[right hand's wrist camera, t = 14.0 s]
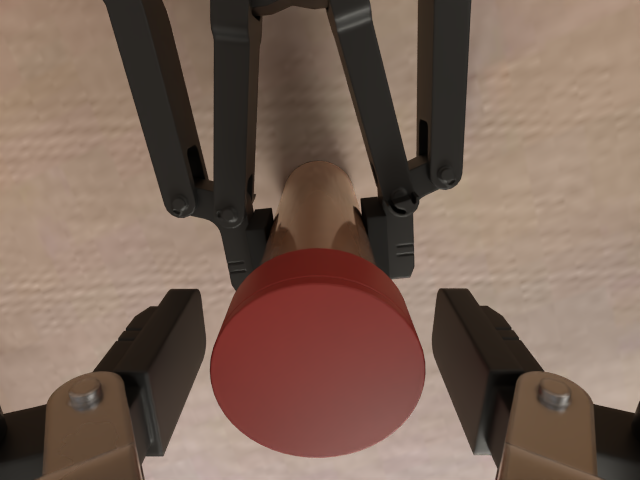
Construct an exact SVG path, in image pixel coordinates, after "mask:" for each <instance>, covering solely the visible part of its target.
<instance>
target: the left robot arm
mask: <svg viewBox="0 0 640 480" xmlns="http://www.w3.org/2000/svg"><path fill="white" fill-rule="evenodd" d="M103 1H104V3H105V4H106V7H107V10H108V14H109V17H110V21H111V24H112V27H113V31H114V34H115V38H116V41H117V44H118V48H119V51H120V55H121V58H122V62H123V65H124V68H125V72H126V75H127V79H128V82H129V85H130V89H131V92H132V96H133V99H134V102H135V106H136V109H137V113H138V116H139V120H140V123H141V126H142V130H143V133H144V137H145V140H146V143H147V147H148V150H149V154H150V157H151V161H152V164H153V167H154V171H155V174H156V178H157V181H158V184H159V188H160V191H161V195H162V198H163V202H164V205H165V207H166V209H167V211H168V212H169V213H170V214H171V215H173V216H175V217H178V218H185V217H188V216H195V217H199V218H203V219H207V220H210V221H211V222H213V223H214V224H215V225H216V226H217V227H218V228H219V230H220V233H221V236H222V241H223V245H224V250H225V255H226V260H227V263H228V269H229V272H230V279H231V283H232V286H233V287H234V289H235V290H236V291H237V289H238V288H239V286H240V285H241V283H242V282H243V281H244V280H245V279H246V277H247V276H248V275H250V274H251V273H252V272H253V271H254V270H255V269H256V268H258V267H259V266H260V263H261V260H262V256H263V253H264V250H265V247H266V244H267V241H268V237H269V234H270V231H271V228H272V225H273V222H274V220H273V213H272V208H266V209H257V210H255V211H253V206H252V203H253V201H254V199H255V196H256V194H254V173H255V147H256V122H257V97H258V72H259V49H260V43H261V37H262V16H263V15H271V14H274V13H276V12H279V11H281V10H283V9H285V8H288V7H290V6H299V7H304V8H310V9H319V8H326V12H327V15H328V19H329V22H330V26H331V29H332V32H333V35H334V38H335V41H336V45H337V48H338V52H339V55H340V59H341V62H342V66H343V69H344V73H345V76H346V80H347V84H348V87H349V91H350V94H351V98H352V101H353V105H354V108H355V112H356V115H357V119H358V123H359V126H360V130H361V133H362V137H363V140H364V144H365V147H366V151H367V154H368V158H369V162H370V165H371V169H372V172H373V176H374V179H375V183H376V186H377V189H378V197H370V198H361V211H362V218H363V222H364V225H365V228H366V231H367V235H368V238H369V241H370V245H371V248H372V251H373V254H374V258H375V261H376V264H377V267H378V268H379V269H381V270H382V271H383V272H384V273H385V274H386V275H387V276H388V277H389V278H390V279H399V278H409V277H410V276H411V274H412V271H413V269H414V234H413V213H414V212H415V210H416V209H417V207H418V205H419V200H420V199H421V198H422V197H424V196H425V195H427V194H430V193H432V192H434V191H436V190H438V189H443V190H447V189H451V188H453V187H454V186H456V185H457V184H458V182H459V181H460V180H461V176H462V169H463V150H464V130H465V111H466V91H467V72H468V52H469V33H470V13H471V0H418V53H417V152H416V158H413V159H411V160H409V161H407V159H406V155H405V151H404V147H403V143H402V139H401V135H400V130H399V126H398V122H397V118H396V114H395V110H394V106H393V102H392V98H391V94H390V90H389V86H388V82H387V78H386V74H385V70H384V66H383V62H382V58H381V54H380V50H379V46H378V42H377V38H376V34H375V30H374V26H373V22H372V14H371V6H370V1H369V0H210V21H211V30H212V33H213V38H214V181H210V180H209V179H208V175H207V171H206V167H205V163H204V158H203V154H202V150H201V146H200V142H199V138H198V134H197V130H196V126H195V122H194V118H193V114H192V110H191V106H190V102H189V98H188V94H187V89H186V85H185V81H184V77H183V73H182V69H181V65H180V61H179V57H178V53H177V49H176V45H175V41H174V37H173V33H172V29H171V25H170V21H169V18H168V14H167V11H166V9H165V6H164V4H163V1H162V0H103Z"/></svg>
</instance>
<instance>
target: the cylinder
mask: <svg viewBox="0 0 640 480" xmlns="http://www.w3.org/2000/svg"><path fill="white" fill-rule="evenodd" d="M310 248H327V249H334V250H340V251H344V252H348V253H351V254H354V255H356V256H359V257H361V258H364V259H365V260H367V261H369V262H371V263H372V264H374V265H375V266H377V264H376V261H375V258H374V254H373V251H372V248H371V245H370V241H369V238H368V235H367V231H366V228H365V225H364V222H363V218H362V215H361V212H360V208H359V205H358V202H357V199H356V195H355V192H354V189H353V185H352V183H351V180H350V179H349V177H348V175H347V174H346V173H345V172H344V171H343V170H342V169H341V168H340V167H338V166H336V165H334V164H332V163H329V162H325V161H312V162H308V163H305V164H303V165H301V166H299V167H298V168H297V169H295V170H294V171H293V172H292V173H291V175H290V176H289V178H288V179H287V181H286V184H285V187H284V190H283V193H282V196H281V199H280V203H279V206H278V209H277V212H276V215H275V218H274V222H273V225H272V228H271V231H270V234H269V237H268V241H267V244H266V247H265V250H264V253H263V256H262V260H261V263H260V266H261V265H262V264H263V263H265V262H267V261H269V260H271V259H273V258H274V257H276V256H279V255H282V254H285V253H287V252H292V251H296V250H300V249H310Z"/></svg>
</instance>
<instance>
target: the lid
mask: <svg viewBox="0 0 640 480" xmlns="http://www.w3.org/2000/svg"><path fill="white" fill-rule="evenodd" d="M210 377H211V384H212V388H213V392H214V395H215V397H216V400H217V402H218V404H219V406H220V408H221V409H222V411H223V412H224V414H225V415H226V417H227V418H228V419H229V420H230V421H231V423H232V424H233V425H234V426H235V427H237V428H238V429H239V430H240V431H241V432H242V433H244V434H245V435H246V436H248V437H249V438H250V439H252V440H254V441H256V442H257V443H259V444H261V445H263V446H265V447H268V448H270V449H272V450H275V451H278V452H281V453H285V454H289V455H294V456H300V457H309V458H325V457H336V456H341V455H347V454H351V453H354V452H358V451H361V450H363V449H366V448H368V447H371V446H373V445H375V444H376V443H378V442H380V441H382V440H384V439H385V438H386V437H388V436H389V435H391V434H392V433H393V432H395V431H396V430H397V429H398V428H399V427H400V426H401V425H402V424H403V423H404V422H405V421H406V420H407V418H408V417H409V416H410V415H411V413H412V412H413V410H414V409H415V407H416V405H417V403H418V401H419V399H420V396H421V393H422V390H423V386H424V380H425V359H424V354H423V349H422V347H421V344H420V341H419V338H418V336H417V333H416V331H415V328H414V325H413V323H412V320H411V317H410V315H409V312H408V309H407V307H406V304H405V301H404V299H403V297H402V295H401V293H400V291H399V289H398V288H397V286H396V285H395V284H394V282H393V281H392V280H391V279H390V278H389V277H388V276H387V275H386V274H385V273H384V272H383V271H382V270H381V269H379V268H378V267H377V266H375V265H374V264H372V263H371V262H369V261H367V260H365V259H364V258H361V257H359V256H356V255H354V254H351V253H348V252H344V251H340V250H334V249H327V248H310V249H300V250H296V251H292V252H287V253H285V254H282V255H279V256H276V257H274V258H273V259H271V260H269V261H267V262H265V263H263V264H262V265H261V266H259V267H258V268H256V269H255V270H254V271H253V272H252V273H251V274H250V275H248V276H247V277H246V279H245V280H244V281H243V282H242V283H241V285H240V286H239V288H238V289H237V291H236V293H235V294H234V296H233V299H232V301H231V304H230V306H229V309H228V311H227V314H226V316H225V319H224V322H223V324H222V327H221V329H220V332H219V334H218V337H217V339H216V342H215V345H214V347H213V351H212V355H211V361H210Z"/></svg>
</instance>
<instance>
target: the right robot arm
mask: <svg viewBox="0 0 640 480" xmlns="http://www.w3.org/2000/svg"><path fill="white" fill-rule="evenodd" d="M205 349H206V333H205V325H204V317H203V309H202V300H201V294H200V291H199V290H198V289H170V290H169V291H168V293H167V294H166V295H165V297H164V298H163V300H162V301H161V303H160V304H159V305H158V306H150V307H149V308H147V309H146V310H144V311H143V312H141V313H140V314H138V315H137V316H135V317H134V319H133V320H132V321H131V323H130V324H129V325H128V326H127V328H126V331H124V332H123V333H122V334H121V336H120V337H119V338H118V341H116V342H115V343H114V345H113V346H112V347H111V349H110V350H109V351H108V353H107V354H106V355H105V356H104V358H103V359H102V360H101V362H100V363H99V364H98V366H97V367H96V368H95V369H94V371H93V372H91V373H87V374H84V375H81V376H78V377H76V378H74V379H72V380H70V381H68V382H66V383H65V384H63V385H62V386H60V387H59V388H58V389H57V390H56V391H55V392H54V393H53V394H52V395H51V396H50V398H49V400H48V402H47V404H45V405H42V406H38V407H33V408H29V409H24V410H20V411H15V412H10V413H6V414H3V412H2V409H1V407H0V480H145V478H144V473H143V469H142V463H143V460H144V458H145V456H164V453H165V451H166V448H167V446H168V443H169V441H170V439H171V436H172V434H173V431H174V429H175V426H176V424H177V422H178V419H179V417H180V414H181V412H182V409H183V407H184V405H185V402H186V400H187V397H188V395H189V392H190V390H191V388H192V385H193V383H194V380H195V378H196V375H197V373H198V371H199V368H200V366H201V363H202V361H203V358H204V355H205ZM432 349H433V354H434V358H435V360H436V363H437V365H438V368H439V370H440V373H441V375H442V378H443V380H444V383H445V385H446V388H447V390H448V393H449V395H450V398H451V400H452V402H453V405H454V407H455V410H456V412H457V415H458V417H459V420H460V422H461V425H462V427H463V430H464V432H465V435H466V437H467V439H468V442H469V444H470V447H471V449H472V452H473V454H474V455H492V457H493V460H494V462H495V464H496V466H497V473H496V478H495V480H640V401H639V404H638V407H637V409H636V412H635V413H631V412H627V411H622V410H617V409H613V408H608V407H604V406H599V405H595V404H593V402H592V400H591V398H590V396H589V395H588V394H587V393H586V392H585V391H584V390H583V389H582V388H581V387H580V386H578V385H577V384H575V383H574V382H572V381H570V380H568V379H566V378H564V377H562V376H559V375H556V374H553V373H549V372H545V371H544V370H543V369H542V368H541V366H540V365H539V364H538V362H537V361H536V360H535V358H534V357H533V356H532V354H531V353H530V352H529V350H528V349H527V348H526V346H525V345H524V344H523V342H522V341H521V340H519V337H518V336H517V335H516V333H515V332H514V331H513V330H511V327H510V325H509V324H508V323H507V321H506V320H505V319H504V317H503V316H502V315H500V314H499V313H497V312H496V311H494V310H493V309H491V308H490V307H488V306H479V304H478V303H477V301H476V300H475V298H474V297H473V296H472V294H471V293H470V291H469V290H468V289H466V288H441V289H439V291H438V293H437V299H436V307H435V316H434V324H433V332H432Z"/></svg>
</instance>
